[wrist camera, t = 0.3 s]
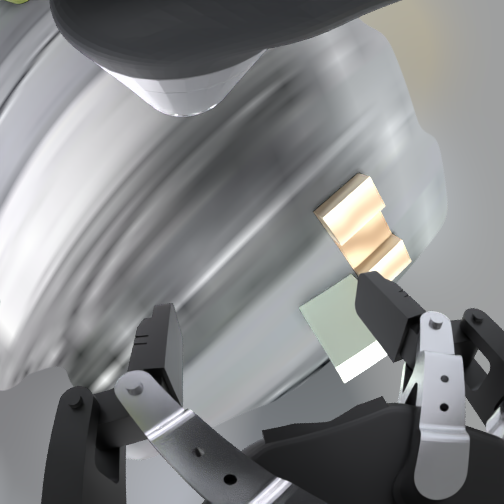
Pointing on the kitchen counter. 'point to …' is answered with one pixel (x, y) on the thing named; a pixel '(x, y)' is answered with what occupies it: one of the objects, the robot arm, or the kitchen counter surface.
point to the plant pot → (17, 1)
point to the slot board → (363, 229)
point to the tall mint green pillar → (342, 329)
